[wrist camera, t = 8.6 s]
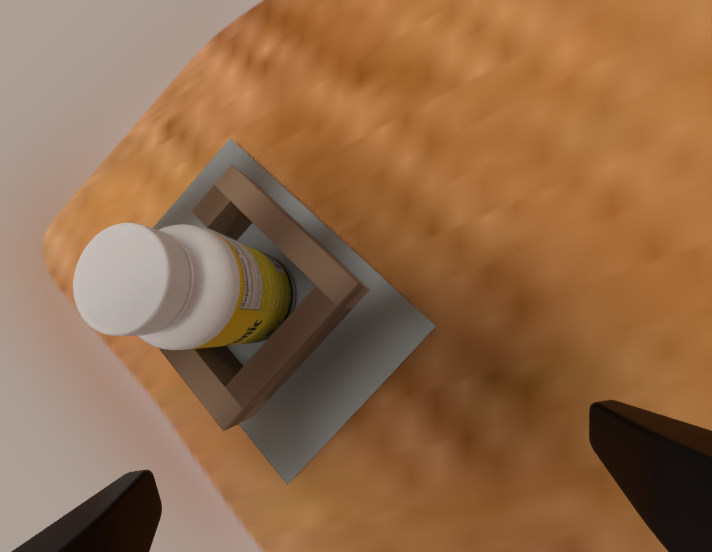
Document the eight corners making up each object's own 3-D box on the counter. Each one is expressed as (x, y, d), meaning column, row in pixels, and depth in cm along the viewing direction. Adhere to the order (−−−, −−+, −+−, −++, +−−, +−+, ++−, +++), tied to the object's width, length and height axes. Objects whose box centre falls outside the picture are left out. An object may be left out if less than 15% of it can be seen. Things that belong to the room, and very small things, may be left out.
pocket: (436, 326, 20) (434, 325, 16) (293, 478, 21) (261, 511, 17) (236, 144, 25) (201, 112, 21) (125, 272, 25) (72, 263, 22)
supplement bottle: (219, 347, 22) (52, 362, 12) (216, 261, 23) (56, 214, 13) (302, 338, 21) (186, 348, 11) (295, 248, 22) (182, 186, 12)
